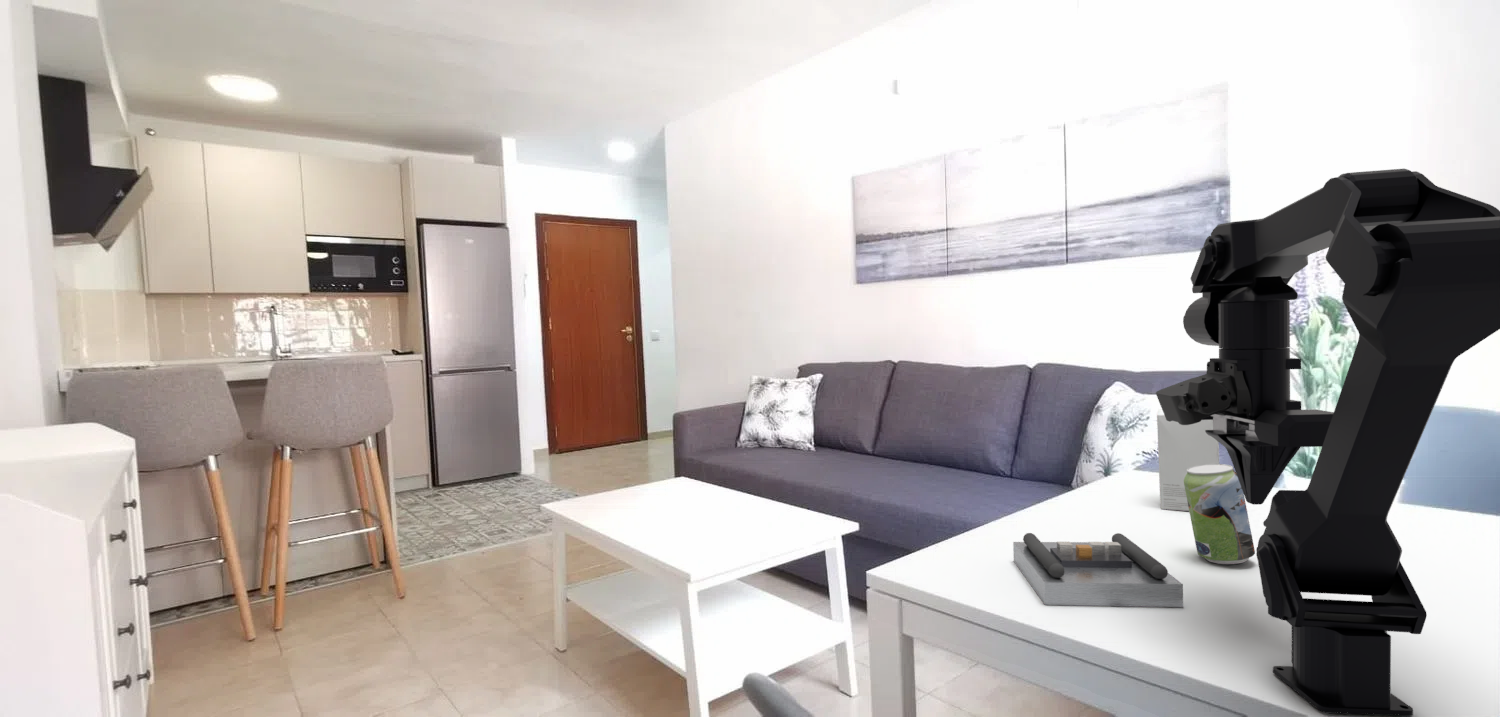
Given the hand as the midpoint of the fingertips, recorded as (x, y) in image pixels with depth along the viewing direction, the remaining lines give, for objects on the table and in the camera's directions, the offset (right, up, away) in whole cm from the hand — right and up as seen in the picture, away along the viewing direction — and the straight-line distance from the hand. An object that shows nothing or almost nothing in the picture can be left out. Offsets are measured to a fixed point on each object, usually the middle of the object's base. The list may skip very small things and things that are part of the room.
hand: (1254, 503), depth 69 cm
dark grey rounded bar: (-16, -9, +13) cm, 22 cm away
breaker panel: (-11, -12, +12) cm, 20 cm away
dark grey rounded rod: (-5, -9, +11) cm, 15 cm away
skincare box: (+20, -10, +41) cm, 46 cm away
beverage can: (+8, -11, +17) cm, 22 cm away
